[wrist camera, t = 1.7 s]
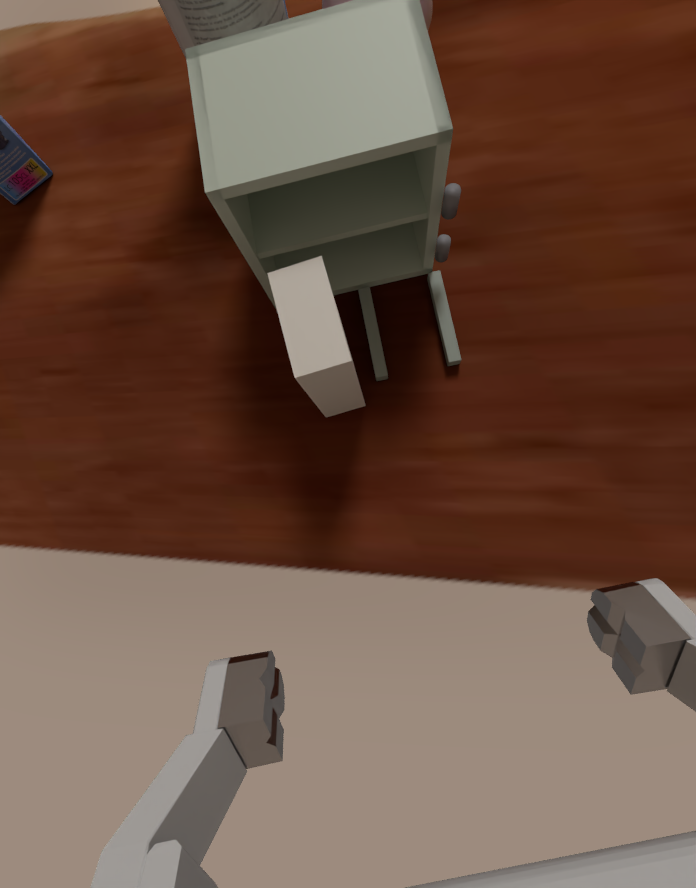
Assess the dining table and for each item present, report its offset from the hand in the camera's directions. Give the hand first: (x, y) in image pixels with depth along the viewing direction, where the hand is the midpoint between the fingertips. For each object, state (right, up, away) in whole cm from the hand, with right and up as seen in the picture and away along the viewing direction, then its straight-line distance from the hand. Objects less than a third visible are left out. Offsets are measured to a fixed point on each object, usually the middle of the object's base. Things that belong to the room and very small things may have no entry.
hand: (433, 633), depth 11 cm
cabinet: (-2, +19, +26) cm, 32 cm away
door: (-3, +11, +25) cm, 28 cm away
